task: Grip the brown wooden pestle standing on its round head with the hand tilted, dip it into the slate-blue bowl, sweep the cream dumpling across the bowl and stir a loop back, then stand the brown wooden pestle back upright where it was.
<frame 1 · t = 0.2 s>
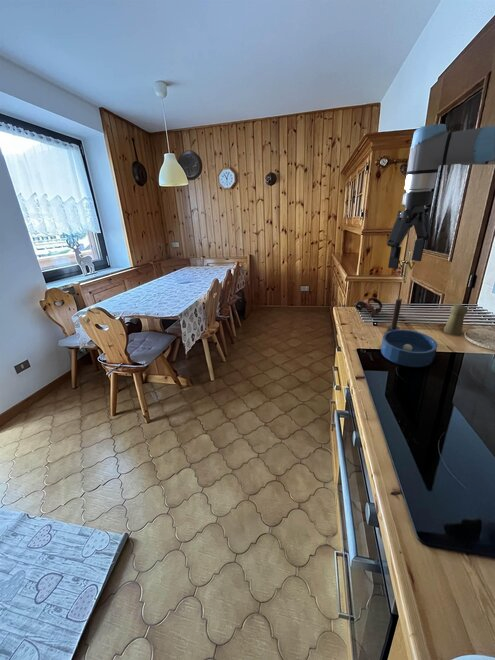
hand: (404, 264, 91), 31 cm above the counter, tool pointing down, fingers open, 13 cm apart
dumpling: (407, 348, 99), point 2 cm above the counter, touching bowl
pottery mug: (366, 313, 133), on the counter
bowl: (406, 353, 100), on the counter
olive green waisted cylinder: (452, 332, 113), on the counter
brown wooden pestle: (392, 334, 114), on the counter
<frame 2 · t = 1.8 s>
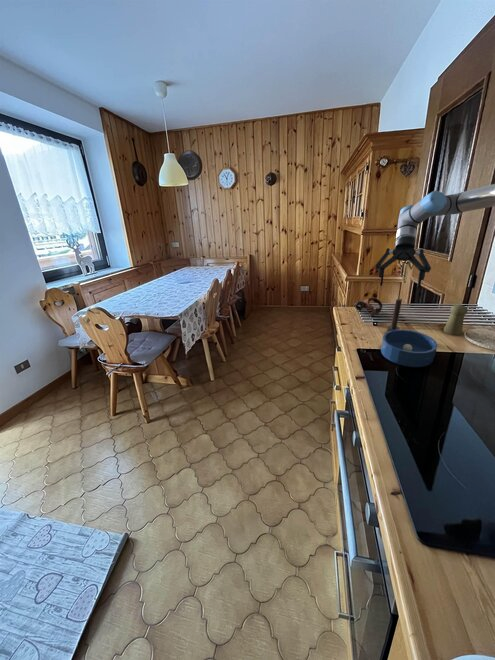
hand: (399, 285, 114), 17 cm above the counter, tool tilted 45°, fingers open, 13 cm apart
nothing on the counter moved.
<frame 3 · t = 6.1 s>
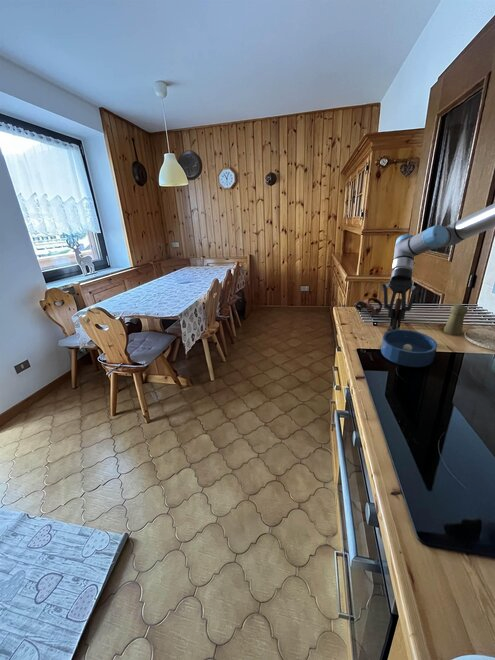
hand: (394, 325, 108), 6 cm above the counter, tool tilted 45°, fingers closed on brown wooden pestle, 2 cm apart
brown wooden pestle: (392, 334, 114), on the counter, touching gripper
everything else where it was.
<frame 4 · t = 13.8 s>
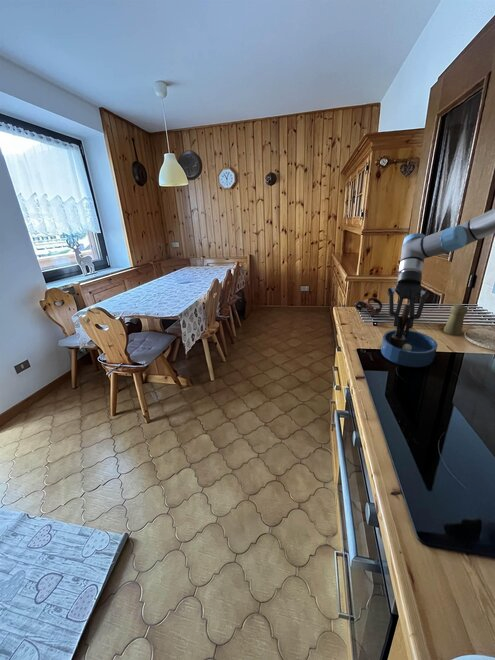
hand: (401, 335, 96), 8 cm above the counter, tool tilted 45°, fingers closed on brown wooden pestle, 2 cm apart
dumpling: (406, 348, 100), point 2 cm above the counter, tilted 11°
brown wooden pestle: (396, 343, 102), point 3 cm above the counter, touching gripper
everything else where it was.
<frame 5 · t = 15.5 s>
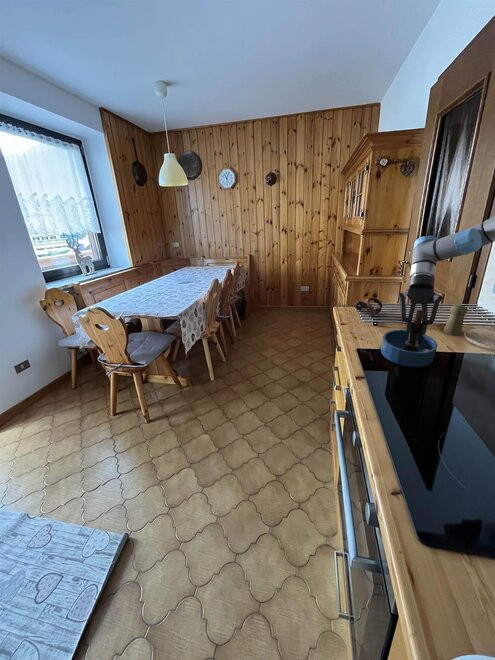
hand: (414, 342, 93), 8 cm above the counter, tool tilted 45°, fingers closed on brown wooden pestle, 2 cm apart
dumpling: (426, 353, 96), point 2 cm above the counter, tilted 140°, touching bowl
brown wooden pestle: (410, 350, 99), point 2 cm above the counter, touching gripper
everything else where it was.
when the fingers open (6 cm above the counter, at t = 28.4 s): brown wooden pestle stays where it is, on the counter.
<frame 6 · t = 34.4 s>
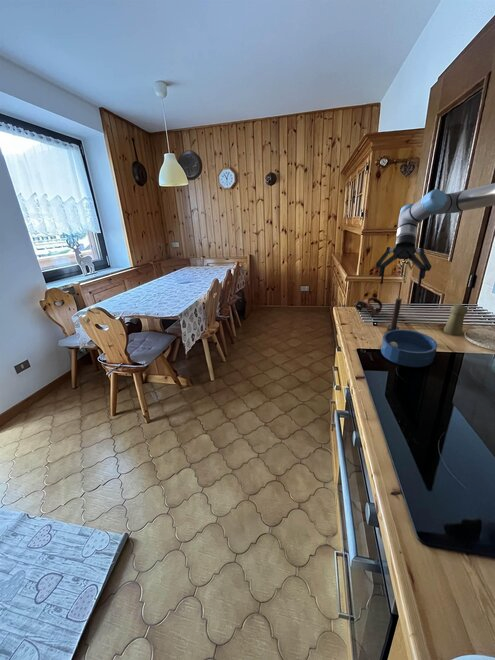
hand: (399, 284, 114), 18 cm above the counter, tool tilted 45°, fingers open, 13 cm apart
dumpling: (393, 345, 101), point 2 cm above the counter, tilted 168°, touching bowl
brown wooden pestle: (392, 333, 114), on the counter
everything else where it was.
at the end: dumpling moved 4.5 cm from its start; dumpling inside the target area in the bowl (4.6 cm from its centre), point 2.3 cm above the bowl's base; brown wooden pestle tilted 0° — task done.
